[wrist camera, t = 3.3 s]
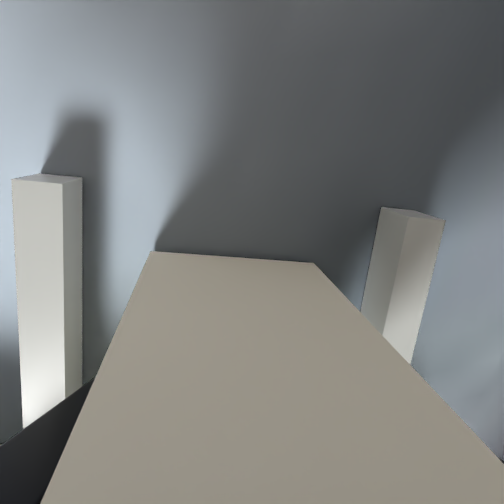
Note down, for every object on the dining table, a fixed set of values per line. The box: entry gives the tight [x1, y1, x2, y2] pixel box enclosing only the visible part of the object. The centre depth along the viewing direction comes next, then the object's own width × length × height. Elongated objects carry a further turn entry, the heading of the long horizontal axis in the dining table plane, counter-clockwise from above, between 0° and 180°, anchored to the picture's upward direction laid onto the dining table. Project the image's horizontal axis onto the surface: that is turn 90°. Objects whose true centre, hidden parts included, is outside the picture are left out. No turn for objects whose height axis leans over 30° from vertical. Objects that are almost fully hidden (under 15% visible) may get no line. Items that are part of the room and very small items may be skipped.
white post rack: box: [0, 173, 446, 446], centre depth 9 cm, size 19×10×4 cm, turn 83°
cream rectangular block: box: [40, 251, 504, 504], centre depth 7 cm, size 4×4×9 cm
